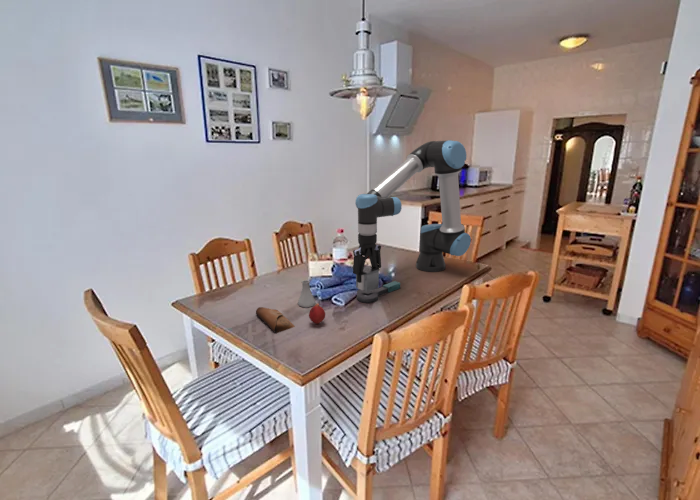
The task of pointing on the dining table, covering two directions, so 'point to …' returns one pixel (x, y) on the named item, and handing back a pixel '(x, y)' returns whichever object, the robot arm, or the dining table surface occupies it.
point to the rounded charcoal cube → (370, 278)
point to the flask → (306, 295)
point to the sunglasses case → (274, 319)
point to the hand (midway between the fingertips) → (367, 286)
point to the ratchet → (376, 292)
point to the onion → (317, 314)
